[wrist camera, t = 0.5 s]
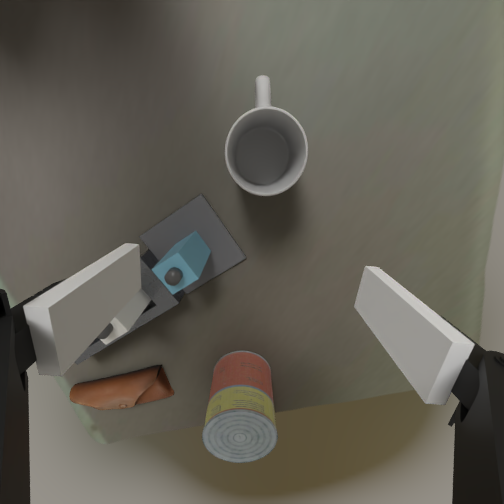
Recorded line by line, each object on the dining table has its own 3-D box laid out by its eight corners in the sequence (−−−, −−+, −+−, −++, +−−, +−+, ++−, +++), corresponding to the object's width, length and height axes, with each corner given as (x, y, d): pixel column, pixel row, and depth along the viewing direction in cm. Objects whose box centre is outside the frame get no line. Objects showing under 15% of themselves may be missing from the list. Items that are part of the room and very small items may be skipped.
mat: (140, 235, 38) (138, 236, 38) (201, 193, 36) (201, 193, 36) (187, 292, 42) (186, 294, 42) (246, 257, 40) (246, 258, 39)
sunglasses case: (96, 412, 51) (68, 429, 45) (92, 376, 52) (65, 387, 46) (177, 394, 50) (161, 409, 43) (171, 358, 51) (155, 367, 45)
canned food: (201, 375, 48) (186, 440, 37) (239, 340, 45) (235, 398, 34) (245, 403, 51) (243, 472, 39) (283, 371, 48) (293, 435, 37)
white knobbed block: (122, 286, 41) (77, 329, 30) (140, 274, 40) (101, 314, 30) (138, 304, 42) (100, 351, 31) (156, 292, 41) (124, 337, 31)
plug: (175, 243, 39) (147, 273, 28) (195, 230, 38) (174, 256, 27) (191, 263, 40) (169, 299, 29) (211, 251, 39) (196, 283, 28)
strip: (91, 348, 46) (77, 364, 42) (54, 313, 43) (35, 327, 39) (185, 290, 42) (179, 303, 38) (150, 248, 39) (139, 257, 35)
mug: (291, 186, 36) (308, 195, 26) (234, 189, 36) (227, 199, 26) (291, 91, 32) (311, 56, 22) (226, 95, 32) (215, 63, 22)
